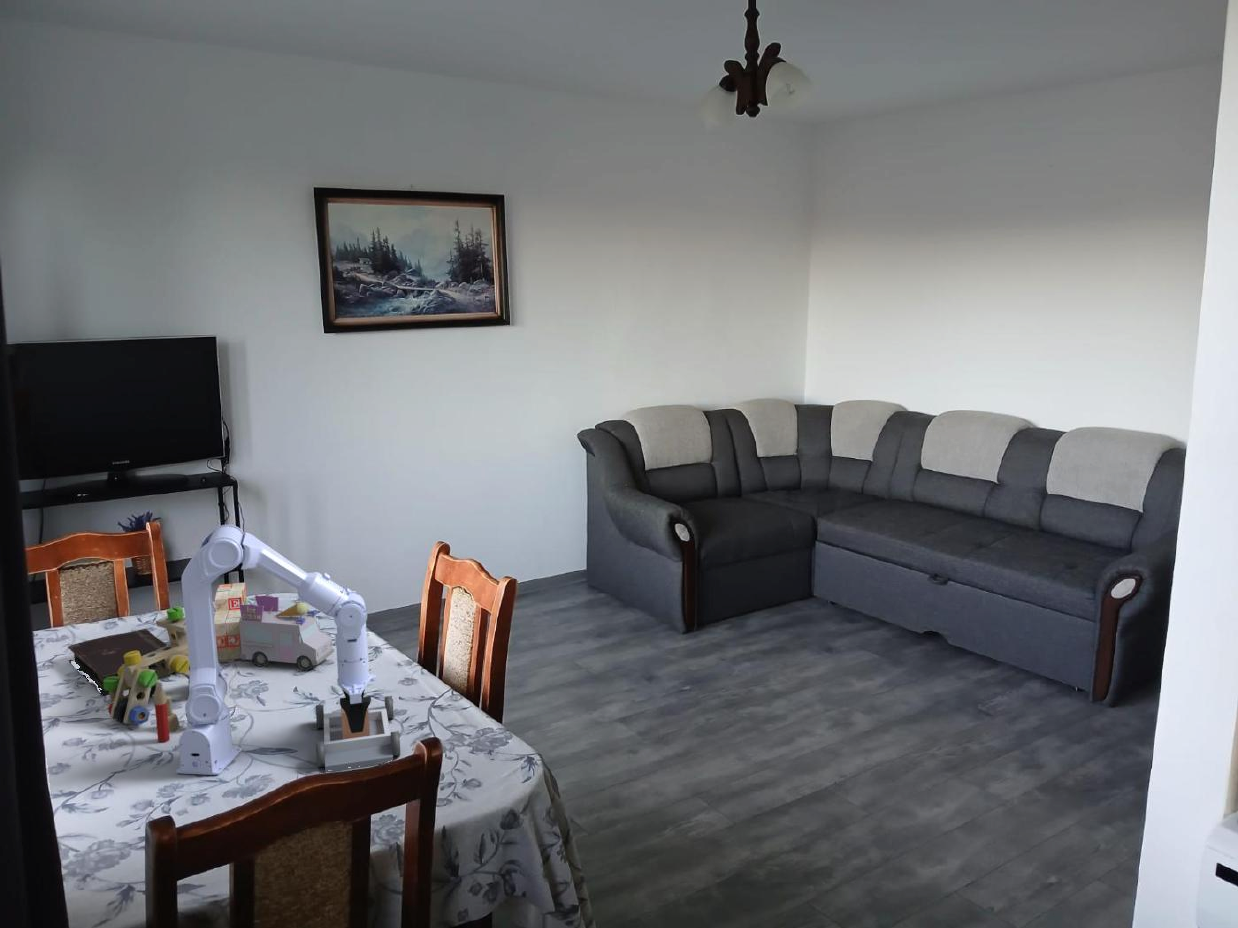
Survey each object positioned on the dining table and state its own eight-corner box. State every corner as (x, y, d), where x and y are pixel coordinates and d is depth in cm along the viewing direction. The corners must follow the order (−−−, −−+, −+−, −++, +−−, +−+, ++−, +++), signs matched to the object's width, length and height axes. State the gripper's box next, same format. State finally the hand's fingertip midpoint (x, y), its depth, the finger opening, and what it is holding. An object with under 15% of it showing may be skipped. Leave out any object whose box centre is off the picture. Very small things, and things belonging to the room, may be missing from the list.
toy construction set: (235, 729, 187) (227, 630, 183) (107, 755, 176) (95, 652, 172) (219, 679, 210) (212, 591, 206) (105, 700, 199) (95, 607, 195)
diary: (150, 645, 230) (149, 626, 230) (188, 676, 213) (187, 655, 212) (65, 665, 218) (63, 645, 217) (98, 699, 200) (96, 677, 199)
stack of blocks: (242, 658, 221) (238, 609, 219) (213, 661, 219) (209, 611, 217) (249, 627, 241) (245, 581, 239) (222, 629, 239) (218, 583, 237)
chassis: (401, 761, 174) (400, 739, 173) (317, 773, 170) (315, 751, 169) (391, 710, 194) (391, 690, 194) (317, 720, 190) (315, 699, 189)
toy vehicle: (316, 674, 212) (312, 611, 209) (238, 667, 216) (233, 605, 213) (336, 658, 221) (332, 597, 218) (261, 651, 225) (256, 592, 222)
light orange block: (369, 738, 180) (368, 709, 179) (342, 742, 179) (341, 712, 177) (368, 726, 185) (367, 698, 184) (342, 730, 183) (340, 701, 182)
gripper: (376, 668, 173) (380, 736, 176) (372, 640, 187) (375, 703, 189) (336, 673, 171) (340, 742, 174) (335, 644, 185) (338, 708, 187)
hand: (356, 722), depth 181 cm, fingers open, 7 cm apart
